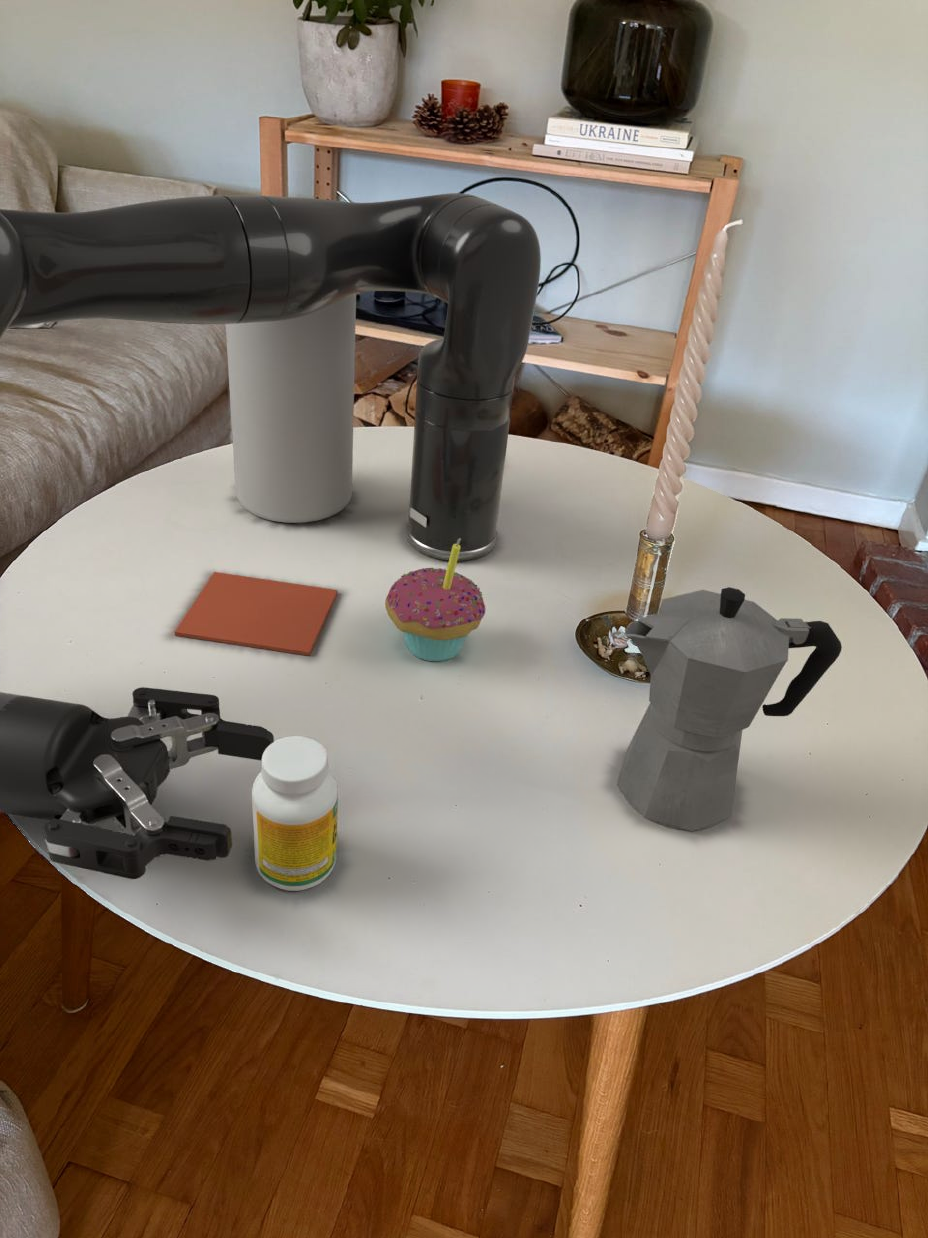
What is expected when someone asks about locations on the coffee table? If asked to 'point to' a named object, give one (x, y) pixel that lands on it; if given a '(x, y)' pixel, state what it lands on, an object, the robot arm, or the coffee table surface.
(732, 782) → the coffeepot
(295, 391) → the cylinder vase
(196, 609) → the square tile
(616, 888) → the coffee table surface
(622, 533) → the coffee table surface
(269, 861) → the supplement bottle
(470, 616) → the cupcake
